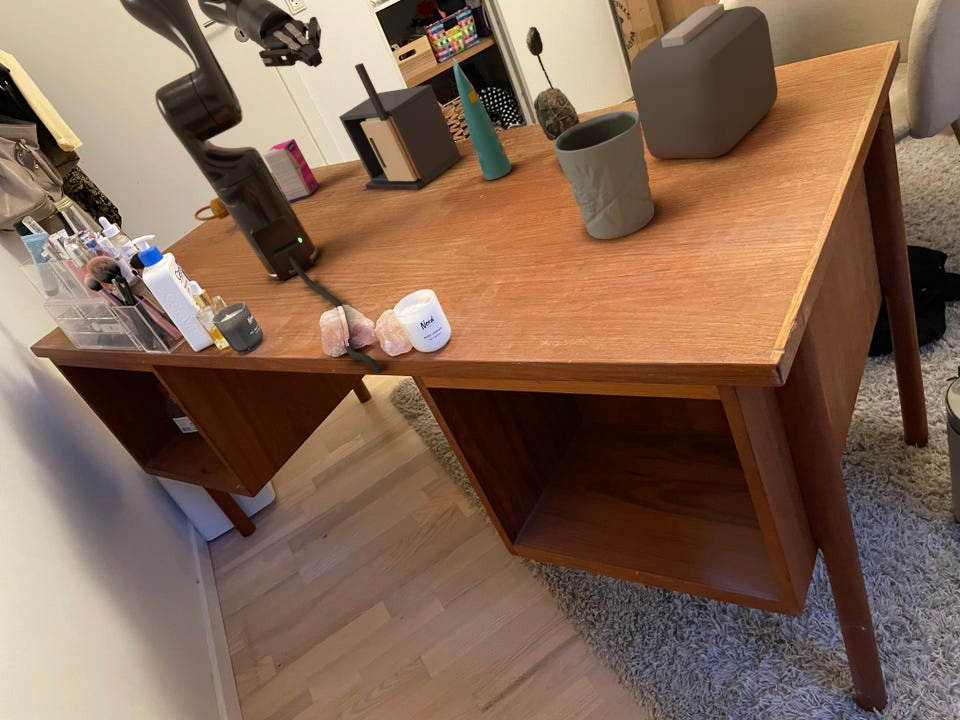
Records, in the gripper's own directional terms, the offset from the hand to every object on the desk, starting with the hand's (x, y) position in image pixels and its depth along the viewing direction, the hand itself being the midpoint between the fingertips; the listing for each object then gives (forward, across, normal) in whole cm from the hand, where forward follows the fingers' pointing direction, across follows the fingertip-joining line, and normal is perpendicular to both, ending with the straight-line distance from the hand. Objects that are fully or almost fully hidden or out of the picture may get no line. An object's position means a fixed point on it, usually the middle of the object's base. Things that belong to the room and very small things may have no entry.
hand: (317, 60), depth 116 cm
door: (+13, +1, +21) cm, 25 cm away
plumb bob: (-25, -20, +39) cm, 50 cm away
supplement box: (-17, -9, +36) cm, 41 cm away
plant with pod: (+44, +17, +10) cm, 48 cm away
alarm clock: (+62, +27, +2) cm, 68 cm away
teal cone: (+32, +10, +15) cm, 37 cm away
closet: (+9, +6, +25) cm, 27 cm away
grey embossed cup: (+64, +6, -1) cm, 64 cm away
